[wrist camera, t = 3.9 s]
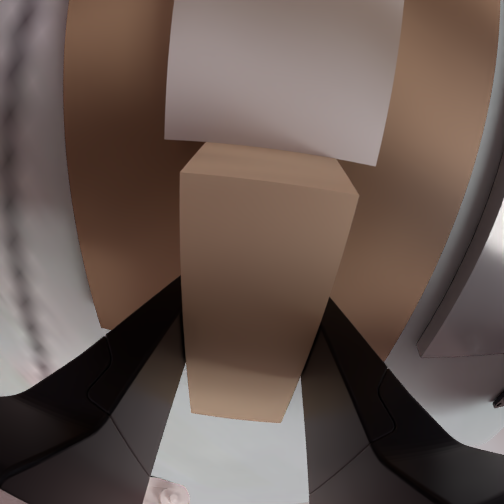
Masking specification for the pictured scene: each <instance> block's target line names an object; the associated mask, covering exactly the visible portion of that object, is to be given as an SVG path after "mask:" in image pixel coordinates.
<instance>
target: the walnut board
mask: <svg viewBox="0 0 504 504" xmlns="http://www.w3.org/2000/svg"><path fill="white" fill-rule="evenodd" d="M173 7H174V0H69V5H68V13H67V22H66V33H65V47H64V71H63V106H64V130H65V145H66V156H67V166H68V175H69V183H70V191H71V198H72V205H73V211H74V217H75V223H76V228H77V234H78V239H79V244H80V248H81V253H82V258H83V262H84V267H85V271H86V275H87V279H88V283H89V287H90V291H91V294H92V298H93V302H94V305H95V309H96V312H97V316H98V319H99V322H100V325H101V328H105V329H109V330H112V329H113V328H115V327H116V326H117V325H118V324H120V323H121V322H122V321H123V320H124V319H126V318H127V317H128V316H129V315H131V314H132V313H133V312H134V311H136V310H137V309H138V308H139V307H141V306H142V305H143V304H144V303H146V302H147V301H148V300H149V299H151V298H152V297H153V296H154V295H156V294H157V293H158V292H160V291H161V290H162V289H163V288H165V287H166V286H167V285H168V284H170V283H171V282H172V281H173V280H175V279H176V278H177V277H179V276H180V275H181V264H180V171H181V170H182V169H183V168H184V167H185V166H186V164H187V163H188V162H189V161H190V160H191V158H192V157H193V156H194V155H195V154H196V153H197V152H198V150H199V149H200V148H201V147H202V146H203V145H204V144H205V142H200V141H185V140H166V139H164V135H165V105H166V85H167V69H168V56H169V44H170V34H171V24H172V15H173ZM499 20H500V0H404V7H403V17H402V26H401V34H400V42H399V49H398V56H397V63H396V69H395V75H394V81H393V87H392V93H391V98H390V103H389V109H388V114H387V118H386V123H385V128H384V133H383V137H382V142H381V146H380V151H379V155H378V159H377V163H376V167H375V166H371V165H366V164H361V163H356V162H351V161H346V160H340V159H337V161H338V162H339V164H340V165H341V167H342V168H343V170H344V172H345V173H346V175H347V176H348V178H349V179H350V181H351V183H352V184H353V186H354V187H355V189H356V191H357V192H358V194H359V199H358V202H357V206H356V210H355V214H354V217H353V221H352V224H351V228H350V231H349V235H348V238H347V242H346V245H345V249H344V252H343V255H342V259H341V262H340V265H339V268H338V271H337V275H336V278H335V281H334V284H333V287H332V290H331V293H330V297H331V299H332V300H333V301H334V302H335V303H336V305H337V306H338V307H339V308H340V309H341V311H342V312H343V313H344V314H345V315H346V317H347V318H348V319H349V320H350V322H351V323H352V324H353V325H354V326H355V328H356V329H357V330H358V331H359V332H360V334H361V335H362V336H363V337H364V339H365V340H366V341H367V342H368V343H369V345H370V346H371V347H372V348H373V350H374V351H375V352H376V353H377V355H378V356H379V357H380V358H381V360H382V361H385V360H386V358H387V356H388V355H389V353H390V352H391V350H392V348H393V347H394V345H395V343H396V342H397V340H398V338H399V336H400V335H401V333H402V331H403V329H404V328H405V326H406V324H407V322H408V320H409V319H410V317H411V315H412V313H413V311H414V309H415V308H416V306H417V304H418V302H419V300H420V298H421V296H422V294H423V292H424V290H425V288H426V286H427V284H428V282H429V280H430V278H431V276H432V273H433V271H434V269H435V267H436V265H437V263H438V260H439V258H440V256H441V254H442V251H443V249H444V247H445V244H446V242H447V240H448V237H449V235H450V232H451V230H452V227H453V225H454V222H455V220H456V217H457V214H458V212H459V209H460V206H461V203H462V201H463V198H464V195H465V192H466V189H467V186H468V183H469V180H470V177H471V173H472V170H473V167H474V163H475V160H476V156H477V153H478V149H479V146H480V142H481V138H482V134H483V130H484V126H485V121H486V117H487V112H488V107H489V102H490V97H491V91H492V85H493V79H494V72H495V65H496V57H497V48H498V36H499Z"/></svg>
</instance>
